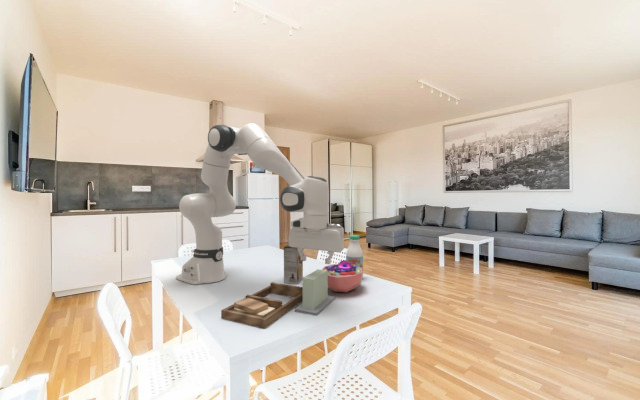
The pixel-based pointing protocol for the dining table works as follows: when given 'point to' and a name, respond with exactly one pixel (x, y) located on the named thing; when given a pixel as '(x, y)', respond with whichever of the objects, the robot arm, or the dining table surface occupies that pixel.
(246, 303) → the offcut stack
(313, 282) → the pale green cuboid
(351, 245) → the milk bottle
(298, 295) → the frame
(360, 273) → the cell model
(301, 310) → the slate pad
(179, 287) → the dining table surface
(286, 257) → the coffee box
